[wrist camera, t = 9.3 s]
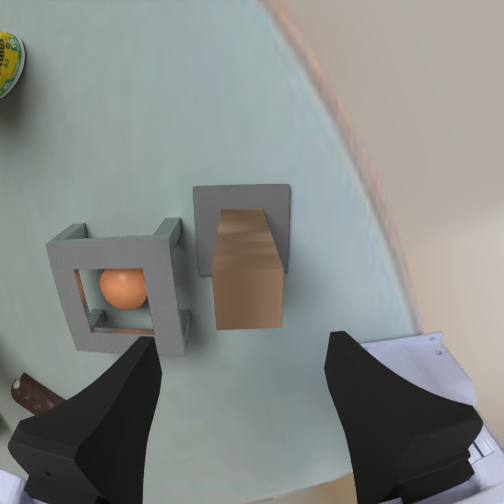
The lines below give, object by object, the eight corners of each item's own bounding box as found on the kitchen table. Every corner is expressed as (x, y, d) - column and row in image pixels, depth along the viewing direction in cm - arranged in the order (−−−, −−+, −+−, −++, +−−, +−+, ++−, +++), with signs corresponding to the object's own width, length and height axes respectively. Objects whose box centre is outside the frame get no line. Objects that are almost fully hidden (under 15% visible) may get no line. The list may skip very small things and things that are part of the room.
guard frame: (180, 217, 20) (168, 238, 17) (191, 321, 23) (184, 355, 20) (73, 224, 20) (45, 244, 16) (95, 320, 23) (77, 350, 19)
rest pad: (288, 184, 20) (289, 185, 20) (286, 270, 22) (287, 272, 22) (193, 186, 20) (192, 187, 19) (199, 273, 22) (199, 275, 22)
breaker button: (150, 252, 21) (142, 263, 19) (156, 295, 22) (150, 310, 20) (105, 253, 21) (95, 265, 19) (114, 295, 22) (105, 309, 20)
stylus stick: (262, 208, 20) (283, 269, 12) (262, 247, 21) (281, 327, 13) (220, 209, 20) (212, 271, 12) (222, 248, 21) (216, 329, 13)
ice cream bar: (136, 435, 29) (19, 365, 25) (133, 446, 28) (13, 375, 24) (120, 450, 31) (14, 388, 27) (118, 460, 29) (9, 397, 25)
